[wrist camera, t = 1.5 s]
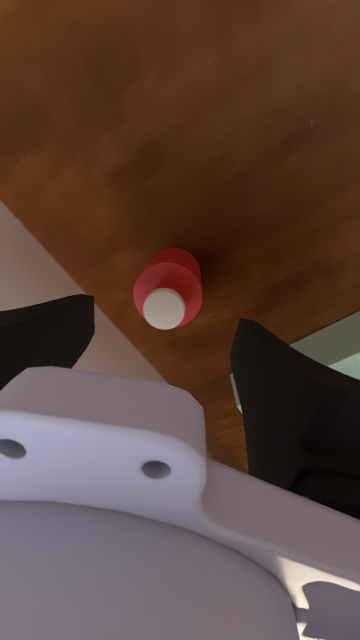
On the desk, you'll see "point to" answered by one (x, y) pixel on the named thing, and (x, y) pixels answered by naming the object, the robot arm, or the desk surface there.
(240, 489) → the robot arm
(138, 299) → the bottle
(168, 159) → the desk surface
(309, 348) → the tray
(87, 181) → the desk surface
